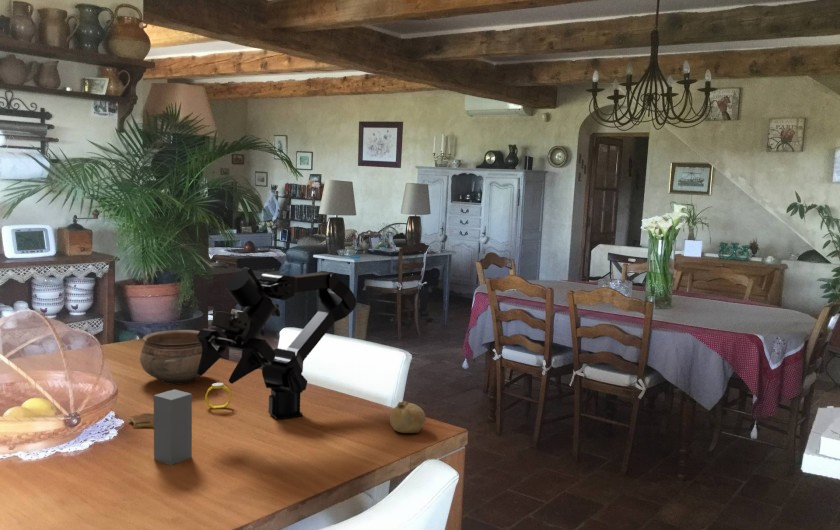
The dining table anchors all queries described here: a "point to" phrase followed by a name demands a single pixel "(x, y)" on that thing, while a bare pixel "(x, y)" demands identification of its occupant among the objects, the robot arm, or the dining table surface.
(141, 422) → the shard
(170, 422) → the slate block
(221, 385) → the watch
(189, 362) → the cooking pot
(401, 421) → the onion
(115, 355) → the dining table surface
